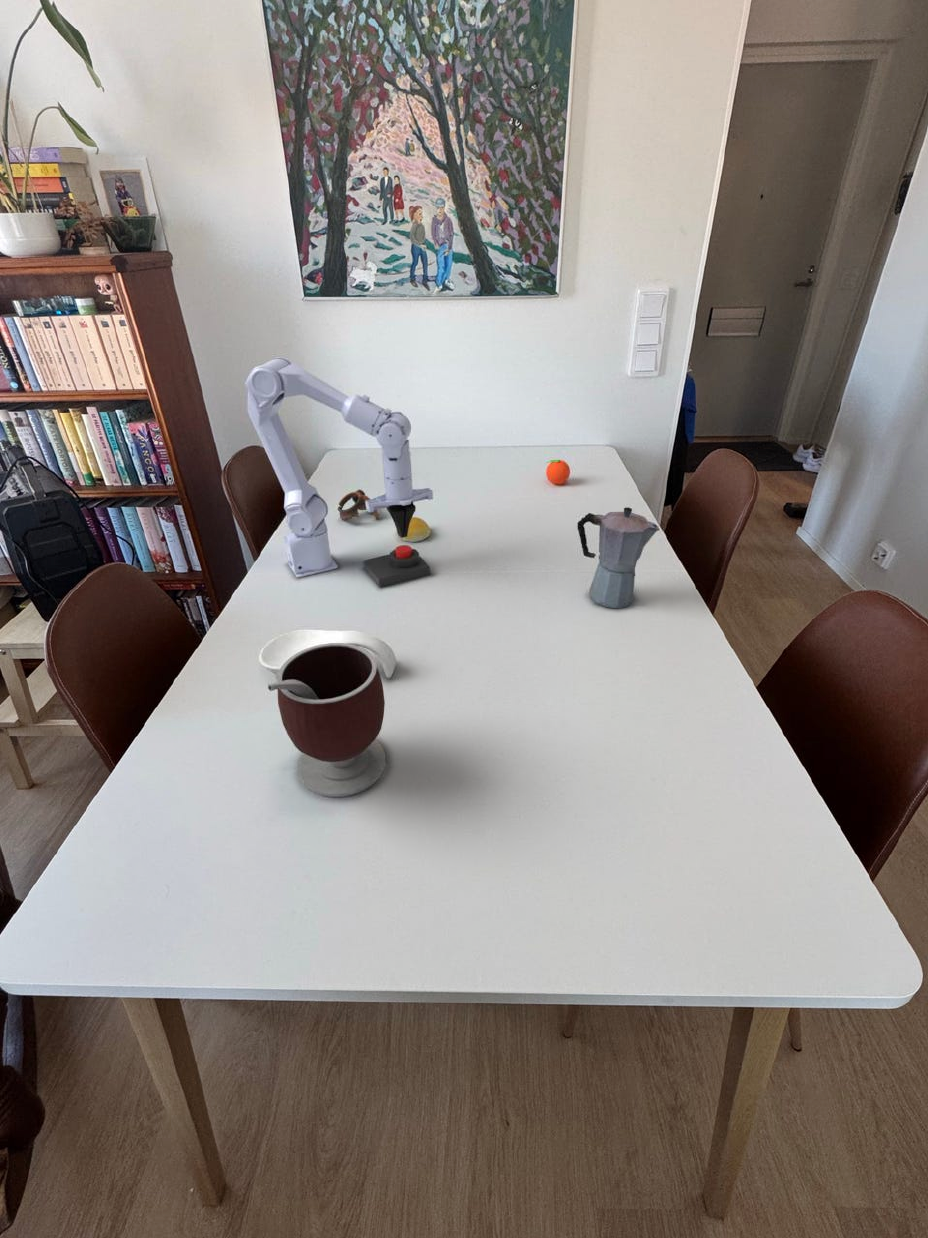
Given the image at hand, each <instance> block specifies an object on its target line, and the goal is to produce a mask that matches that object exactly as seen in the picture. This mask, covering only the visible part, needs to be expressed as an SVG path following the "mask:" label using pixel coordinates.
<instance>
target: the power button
mask: <svg viewBox="0 0 928 1238" xmlns="http://www.w3.org/2000/svg"><path fill="white" fill-rule="evenodd" d="M412 549H413V548H412V546H410V545H406V544H402V545H401V544H400V545H398V546H396V547H395V549H394V550H395V551H396V557H397V558H400V559H406V558H410V557H411V556H412Z"/></svg>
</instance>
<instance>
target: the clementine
mask: <svg viewBox="0 0 928 1238" xmlns="http://www.w3.org/2000/svg"><path fill="white" fill-rule="evenodd" d="M546 464H548V465H547V467H546V470H545V475H546V478H547V479H548V481H549V482H550V483H552V484H553V485H562V484H564V483H566V482H567V480H568V479H569V477H570V475H571V467H570V465H569V464H568V462H566V461H564V460H562V459H552V460H549V461H547V462H546Z"/></svg>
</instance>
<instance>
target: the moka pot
mask: <svg viewBox="0 0 928 1238" xmlns="http://www.w3.org/2000/svg"><path fill="white" fill-rule="evenodd" d="M586 523H590V524H592V525H594V526H598V527H599V533H598V535H599V537H598V538H599V542H598V553H599V555H598V564H597V566H596V570H595V572H594V576H593V578H592V582H591V584H590V587H589V590H588V596H589V598H590V599H591V600H592V601H593V602H594V603H596V604H598V605H600V606H602V607H606V608H611V609H622V608H626V607H628V606H630V604H631V603H633V599H634V592H635V591H634V590H635V579H636V566H637V563H638V561H639V560H640V558H641V556H642V554H643V550H644V548H645V546H646V545H647V544H648V543H649V541H650V540H651V539H652V537H653V536H654V535H655V534H656V532H658V531H660V527H659V525H657V524H656V523H655V522H652V521H649V520H648V519H647V518H646V517H645V516H643V515H640V514H637V513H634V512H633V508H631V507H628V506H627V507H624V508H623V511H609V512H607V513H606V514H604V515H603V514H594V513H591V512H588V513H587V514H585V515H584V517H582V518H581V519H580V520H578V522H577V526H576V527H577V532H578V536H579V540H580V544H581V549H582V554H583V556H585V557H587V558H590V559H595V558H596V556H597V554H596V553H594V552H590V551H589V548H588V541H587V535H586V528H585V524H586Z"/></svg>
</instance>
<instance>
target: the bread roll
mask: <svg viewBox="0 0 928 1238" xmlns="http://www.w3.org/2000/svg"><path fill="white" fill-rule="evenodd" d="M431 530H432V529H431V527H430V526H429V524H428V523H427V522H426V521H425V520H424V519H422V518H420V517H417V516H412V518H411V521H410V524H409V528H408V534H407V537H404V538H401V537H400V536H399V535H398V532H397V529H396V530H395V531H396V533H397V536H398V538H399V539H400V540H401V541H402V542H403V541H404V542H409V543H416V542H422V541H424V540H426V539H427V538H429V537H430V535H431Z"/></svg>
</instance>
